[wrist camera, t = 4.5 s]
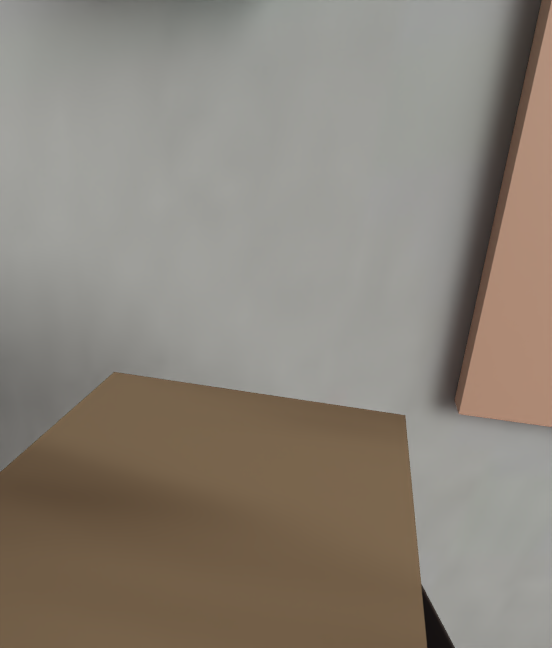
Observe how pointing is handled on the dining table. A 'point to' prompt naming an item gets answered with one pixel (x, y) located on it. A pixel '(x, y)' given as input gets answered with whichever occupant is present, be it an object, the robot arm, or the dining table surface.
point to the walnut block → (210, 525)
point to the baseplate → (518, 266)
